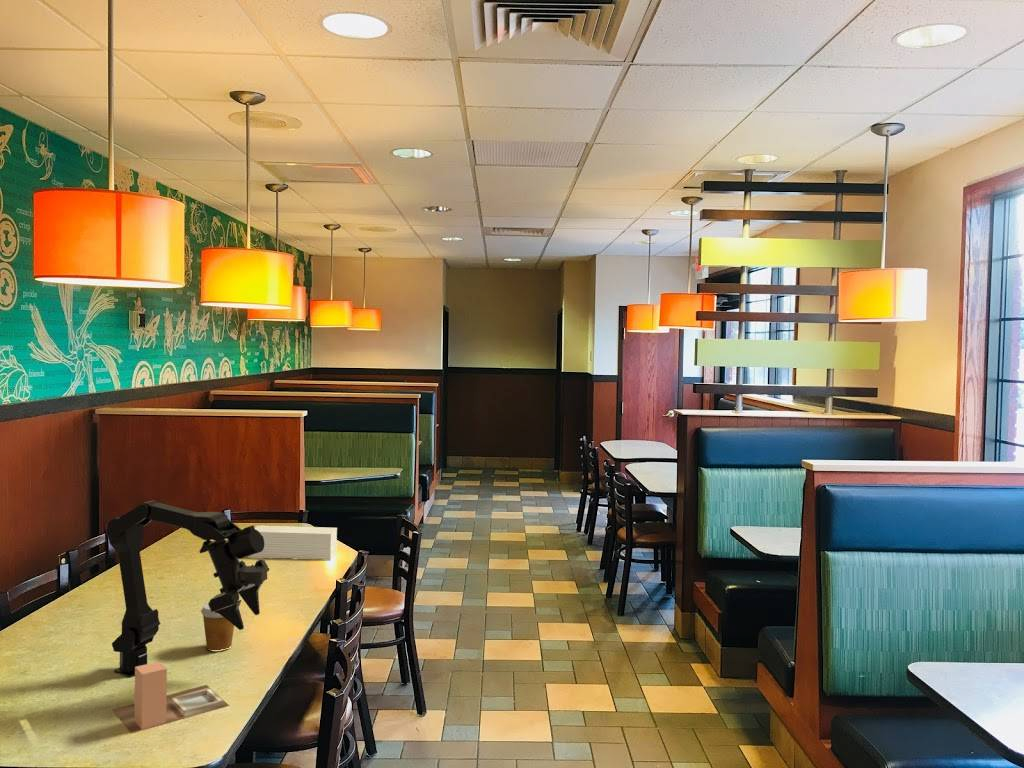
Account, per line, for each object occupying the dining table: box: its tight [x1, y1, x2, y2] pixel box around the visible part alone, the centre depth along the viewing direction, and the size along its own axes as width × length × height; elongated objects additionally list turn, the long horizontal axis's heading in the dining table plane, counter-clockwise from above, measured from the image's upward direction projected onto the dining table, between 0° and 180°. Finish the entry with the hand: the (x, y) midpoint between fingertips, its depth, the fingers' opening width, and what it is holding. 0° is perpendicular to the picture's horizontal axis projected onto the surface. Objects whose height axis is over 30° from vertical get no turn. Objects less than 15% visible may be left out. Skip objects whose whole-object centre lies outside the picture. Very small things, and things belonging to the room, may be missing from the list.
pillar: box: [134, 661, 168, 731], centre depth 170 cm, size 5×5×12 cm
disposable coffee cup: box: [200, 601, 235, 650], centre depth 215 cm, size 10×10×12 cm
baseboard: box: [112, 684, 230, 734], centre depth 177 cm, size 14×21×2 cm, turn 132°
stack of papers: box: [248, 525, 338, 561], centre depth 312 cm, size 32×11×11 cm, turn 90°
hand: (249, 621), depth 193 cm, fingers open, 9 cm apart
